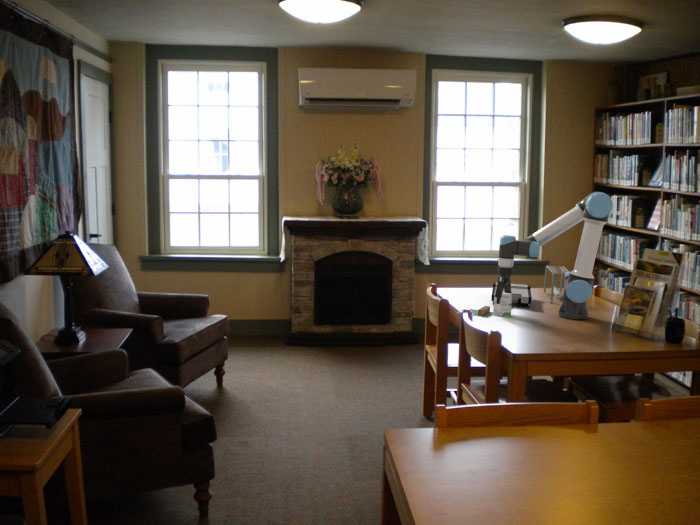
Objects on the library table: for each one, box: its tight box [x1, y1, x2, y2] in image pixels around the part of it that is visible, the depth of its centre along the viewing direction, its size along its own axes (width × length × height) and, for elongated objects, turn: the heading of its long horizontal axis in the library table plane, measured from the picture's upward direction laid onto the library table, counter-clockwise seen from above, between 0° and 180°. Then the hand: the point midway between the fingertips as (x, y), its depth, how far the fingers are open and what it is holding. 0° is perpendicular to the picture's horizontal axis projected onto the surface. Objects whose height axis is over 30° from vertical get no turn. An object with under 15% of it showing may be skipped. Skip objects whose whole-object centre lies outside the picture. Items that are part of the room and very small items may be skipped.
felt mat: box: [455, 308, 493, 318], centre depth 362 cm, size 16×14×1 cm
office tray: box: [490, 281, 533, 309], centre depth 394 cm, size 21×32×8 cm, turn 167°
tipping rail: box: [477, 305, 491, 317], centre depth 360 cm, size 2×12×3 cm, turn 152°
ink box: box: [492, 292, 513, 318], centre depth 358 cm, size 9×5×12 cm, turn 71°
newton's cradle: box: [543, 265, 570, 304], centre depth 408 cm, size 30×10×18 cm, turn 172°
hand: (501, 307), depth 358 cm, fingers open, 13 cm apart
